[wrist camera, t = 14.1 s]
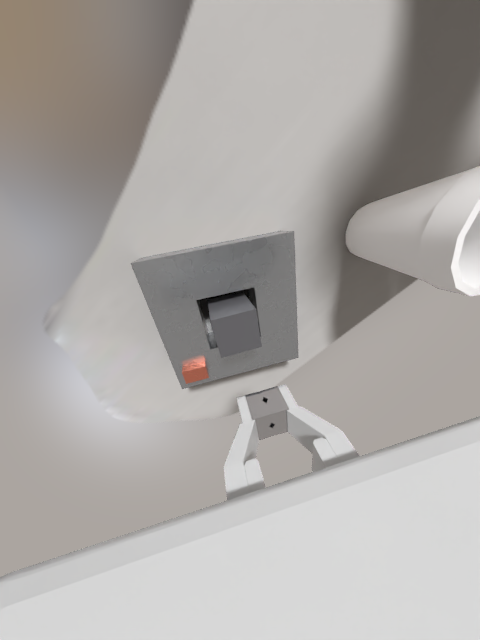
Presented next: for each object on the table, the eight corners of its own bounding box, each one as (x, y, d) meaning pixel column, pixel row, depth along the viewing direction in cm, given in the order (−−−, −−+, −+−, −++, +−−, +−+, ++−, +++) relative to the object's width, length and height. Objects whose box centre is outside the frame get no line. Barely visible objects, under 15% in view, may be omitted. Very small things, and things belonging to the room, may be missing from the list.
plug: (206, 296, 24) (210, 320, 18) (240, 287, 25) (255, 309, 18) (215, 325, 26) (221, 358, 20) (245, 317, 27) (261, 346, 20)
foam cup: (329, 270, 26) (432, 301, 15) (340, 190, 22) (492, 147, 11) (388, 264, 28) (524, 288, 16) (409, 187, 24) (608, 147, 12)
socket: (141, 257, 21) (127, 265, 17) (279, 231, 23) (298, 231, 19) (184, 369, 28) (181, 394, 24) (286, 342, 30) (301, 362, 26)
